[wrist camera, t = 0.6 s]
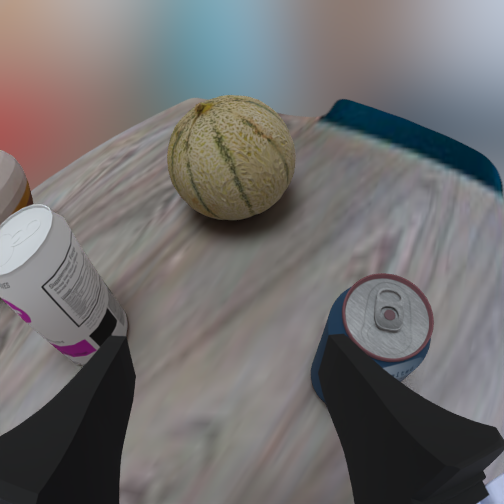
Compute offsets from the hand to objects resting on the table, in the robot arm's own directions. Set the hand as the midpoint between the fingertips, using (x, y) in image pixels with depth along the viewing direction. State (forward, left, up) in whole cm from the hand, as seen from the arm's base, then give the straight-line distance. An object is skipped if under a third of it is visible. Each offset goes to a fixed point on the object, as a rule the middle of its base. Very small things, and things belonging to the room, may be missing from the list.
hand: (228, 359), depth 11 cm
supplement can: (+8, +17, -17) cm, 25 cm away
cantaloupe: (+27, +3, -17) cm, 32 cm away
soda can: (+4, -8, -17) cm, 19 cm away
